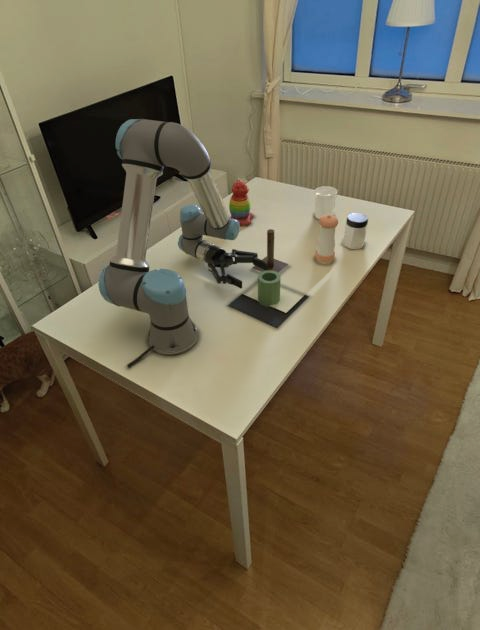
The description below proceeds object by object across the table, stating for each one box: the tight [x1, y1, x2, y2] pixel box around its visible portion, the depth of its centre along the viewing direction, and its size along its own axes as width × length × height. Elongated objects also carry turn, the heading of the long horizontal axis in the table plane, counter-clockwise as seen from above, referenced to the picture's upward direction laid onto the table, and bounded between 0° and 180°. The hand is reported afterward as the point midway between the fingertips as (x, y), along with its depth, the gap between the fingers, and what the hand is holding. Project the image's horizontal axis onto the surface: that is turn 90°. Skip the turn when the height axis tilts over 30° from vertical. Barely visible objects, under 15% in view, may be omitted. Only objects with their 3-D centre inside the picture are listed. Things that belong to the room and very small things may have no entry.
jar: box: [342, 212, 369, 250], centre depth 173 cm, size 9×8×12 cm
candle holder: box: [314, 185, 338, 220], centre depth 193 cm, size 10×10×12 cm
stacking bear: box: [228, 179, 254, 227], centre depth 190 cm, size 11×10×18 cm
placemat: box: [228, 293, 309, 329], centre depth 150 cm, size 20×20×1 cm
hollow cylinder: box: [257, 270, 282, 307], centre depth 146 cm, size 7×7×10 cm
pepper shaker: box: [314, 214, 339, 263], centre depth 163 cm, size 7×7×19 cm
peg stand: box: [252, 228, 289, 274], centre depth 160 cm, size 10×10×16 cm
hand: (254, 275), depth 148 cm, fingers open, 13 cm apart
